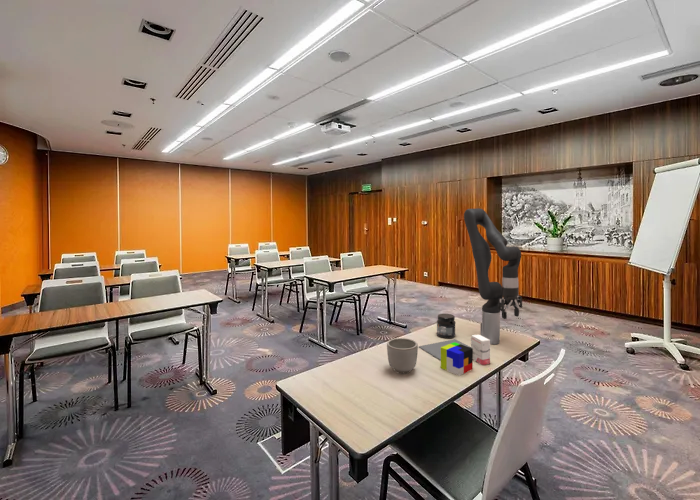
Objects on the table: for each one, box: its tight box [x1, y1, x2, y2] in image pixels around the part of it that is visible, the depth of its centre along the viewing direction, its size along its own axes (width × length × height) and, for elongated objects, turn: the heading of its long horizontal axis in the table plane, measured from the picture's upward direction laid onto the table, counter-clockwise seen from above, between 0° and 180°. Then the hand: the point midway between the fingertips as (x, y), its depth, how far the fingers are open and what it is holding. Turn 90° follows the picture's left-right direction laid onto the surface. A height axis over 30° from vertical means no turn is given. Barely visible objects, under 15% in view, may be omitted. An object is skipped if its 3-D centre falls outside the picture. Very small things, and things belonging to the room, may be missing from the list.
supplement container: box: [436, 313, 457, 339], centre depth 199 cm, size 10×10×12 cm
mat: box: [418, 338, 471, 362], centre depth 178 cm, size 21×24×1 cm
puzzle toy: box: [440, 342, 474, 377], centre depth 157 cm, size 10×10×10 cm
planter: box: [386, 337, 419, 375], centre depth 156 cm, size 14×14×13 cm
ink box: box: [470, 334, 491, 366], centre depth 164 cm, size 9×5×12 cm, turn 16°
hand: (510, 317), depth 174 cm, fingers open, 8 cm apart
